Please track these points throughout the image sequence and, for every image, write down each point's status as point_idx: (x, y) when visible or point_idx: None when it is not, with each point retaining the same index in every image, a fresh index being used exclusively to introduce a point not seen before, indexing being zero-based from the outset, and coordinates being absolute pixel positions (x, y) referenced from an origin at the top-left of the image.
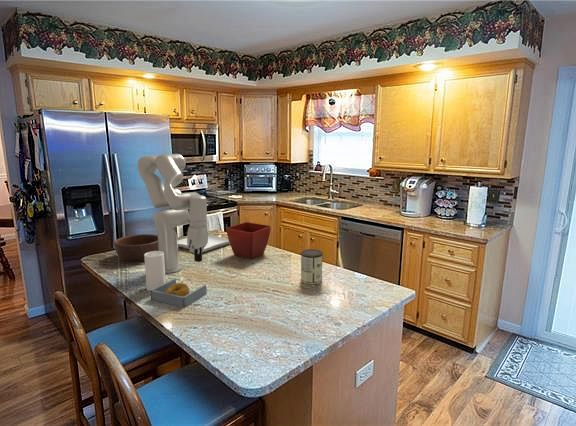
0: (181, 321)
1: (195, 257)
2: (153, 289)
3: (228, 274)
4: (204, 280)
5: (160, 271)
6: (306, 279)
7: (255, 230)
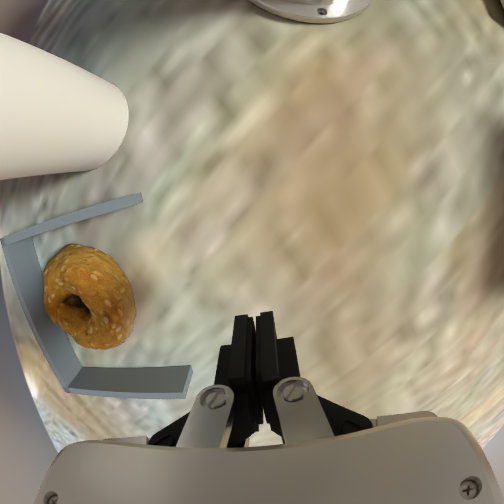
0: (55, 403)
1: (219, 368)
2: (8, 240)
3: (424, 293)
4: (305, 255)
5: (18, 177)
6: None
7: None
